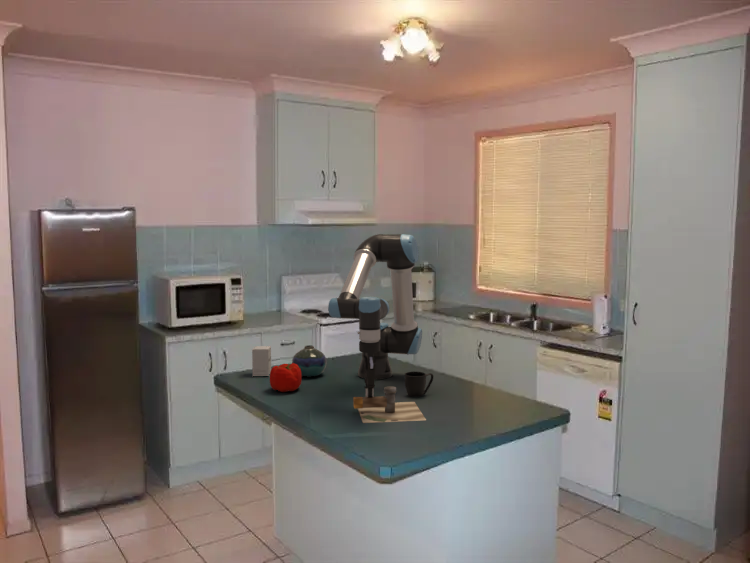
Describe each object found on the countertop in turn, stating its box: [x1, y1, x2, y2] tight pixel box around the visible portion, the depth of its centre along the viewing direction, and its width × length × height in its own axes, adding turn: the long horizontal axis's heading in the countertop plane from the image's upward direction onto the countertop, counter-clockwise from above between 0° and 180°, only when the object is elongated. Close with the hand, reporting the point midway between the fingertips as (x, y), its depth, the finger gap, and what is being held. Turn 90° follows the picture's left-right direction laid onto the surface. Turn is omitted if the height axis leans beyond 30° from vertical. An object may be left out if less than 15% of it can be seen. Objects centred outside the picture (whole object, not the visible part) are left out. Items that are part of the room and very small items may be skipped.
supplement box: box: [251, 345, 272, 377], centre depth 286 cm, size 7×7×13 cm
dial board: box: [357, 401, 427, 424], centre depth 230 cm, size 22×22×1 cm
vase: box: [291, 344, 328, 378], centre depth 286 cm, size 15×15×13 cm
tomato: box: [269, 362, 302, 393], centre depth 262 cm, size 14×13×10 cm
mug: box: [404, 371, 434, 398], centre depth 252 cm, size 8×12×10 cm
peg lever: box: [352, 385, 397, 413], centre depth 228 cm, size 15×4×8 cm, turn 97°
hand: (369, 405), depth 230 cm, fingers closed
